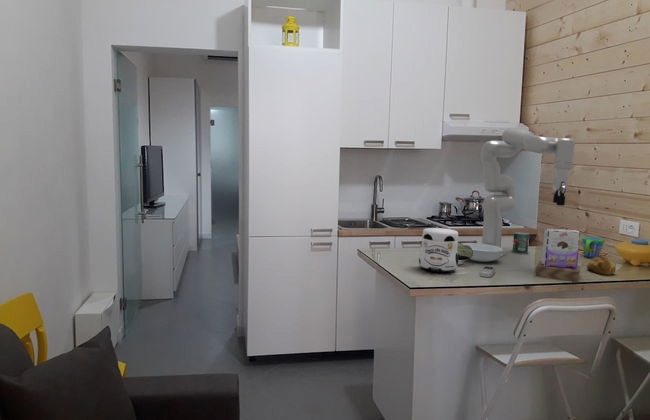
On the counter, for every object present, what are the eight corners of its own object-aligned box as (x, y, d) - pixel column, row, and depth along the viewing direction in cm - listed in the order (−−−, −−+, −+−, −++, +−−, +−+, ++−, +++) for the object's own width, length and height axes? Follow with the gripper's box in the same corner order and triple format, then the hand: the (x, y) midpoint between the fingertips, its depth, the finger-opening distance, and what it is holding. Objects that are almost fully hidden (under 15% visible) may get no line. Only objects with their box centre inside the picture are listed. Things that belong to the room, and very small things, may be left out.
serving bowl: (493, 267, 241) (494, 252, 241) (451, 259, 254) (452, 246, 253) (507, 260, 258) (508, 247, 257) (467, 254, 270) (468, 241, 270)
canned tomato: (509, 251, 283) (510, 231, 281) (521, 251, 285) (522, 231, 284) (518, 254, 275) (520, 234, 274) (530, 254, 277) (532, 234, 276)
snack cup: (588, 254, 285) (590, 236, 284) (608, 257, 277) (610, 239, 276) (574, 256, 276) (576, 237, 275) (593, 260, 268) (596, 241, 266)
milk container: (429, 275, 219) (432, 234, 217) (411, 266, 236) (414, 227, 234) (465, 274, 224) (468, 233, 222) (445, 265, 241) (448, 227, 239)
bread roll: (581, 269, 244) (582, 253, 243) (597, 269, 247) (599, 252, 246) (602, 276, 232) (604, 259, 231) (619, 275, 234) (621, 258, 233)
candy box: (572, 265, 231) (576, 229, 229) (577, 268, 225) (581, 231, 223) (540, 263, 233) (544, 227, 231) (544, 266, 227) (547, 229, 225)
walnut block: (535, 277, 227) (536, 266, 226) (538, 271, 239) (539, 260, 238) (577, 283, 219) (578, 272, 218) (579, 277, 231) (580, 266, 230)
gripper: (550, 164, 238) (546, 201, 240) (556, 166, 222) (552, 205, 224) (568, 165, 236) (564, 202, 238) (575, 167, 220) (571, 206, 222)
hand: (558, 204), depth 231 cm, fingers open, 9 cm apart
